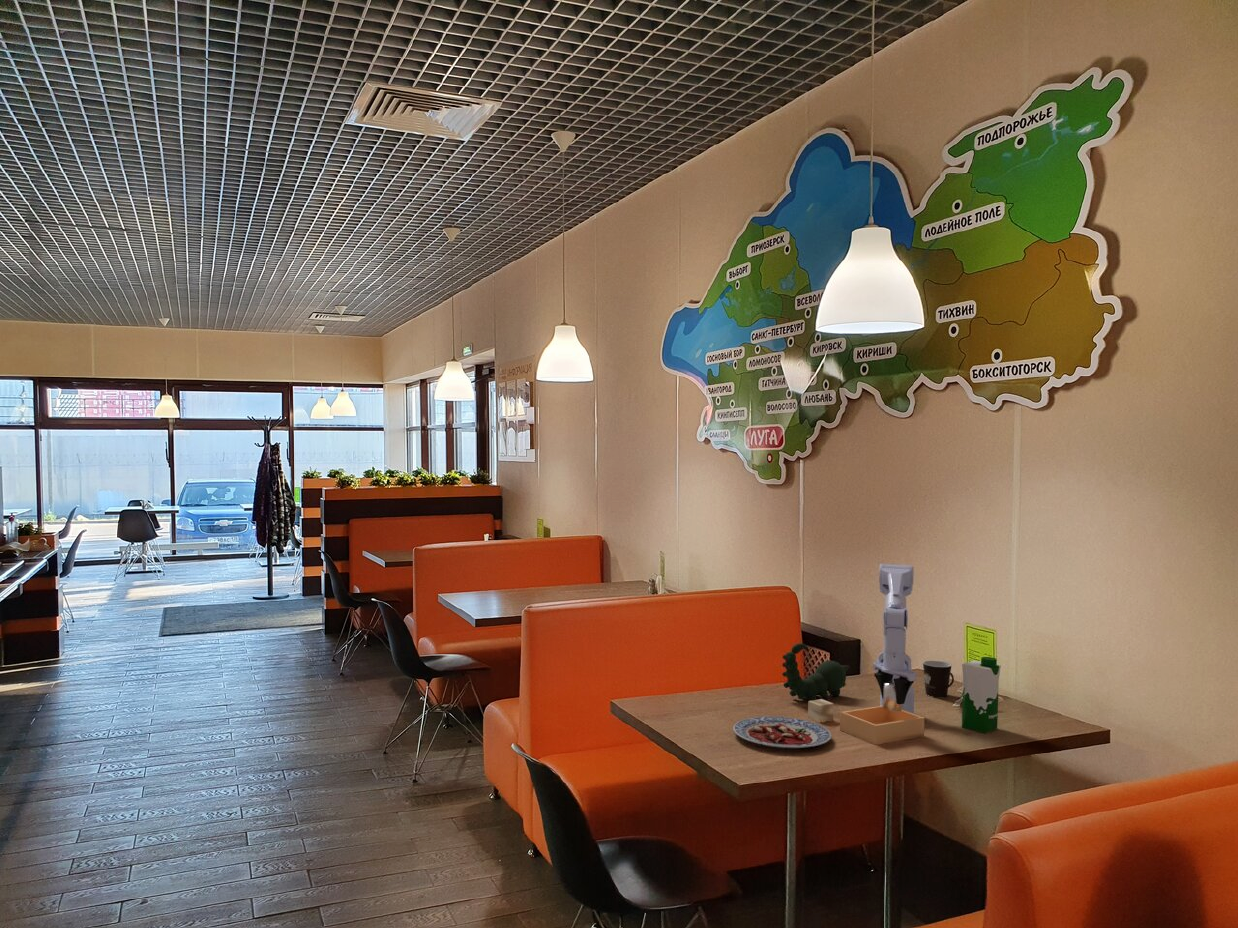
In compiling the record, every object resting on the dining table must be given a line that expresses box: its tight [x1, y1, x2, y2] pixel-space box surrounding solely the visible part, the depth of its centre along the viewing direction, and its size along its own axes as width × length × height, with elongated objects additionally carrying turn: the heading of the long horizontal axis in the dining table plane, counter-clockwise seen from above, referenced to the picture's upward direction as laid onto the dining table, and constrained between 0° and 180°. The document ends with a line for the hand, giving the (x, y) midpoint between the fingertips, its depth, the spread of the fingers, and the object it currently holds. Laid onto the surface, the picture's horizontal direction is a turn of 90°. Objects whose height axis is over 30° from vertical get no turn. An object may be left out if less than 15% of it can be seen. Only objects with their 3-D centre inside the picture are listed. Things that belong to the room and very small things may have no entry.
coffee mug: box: [922, 660, 955, 698], centre depth 287 cm, size 12×9×10 cm
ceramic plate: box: [732, 716, 832, 750], centre depth 242 cm, size 26×26×3 cm
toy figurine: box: [781, 642, 851, 701], centre depth 282 cm, size 9×19×25 cm
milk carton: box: [961, 656, 1001, 734], centre depth 254 cm, size 9×9×20 cm
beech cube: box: [807, 698, 834, 724], centre depth 260 cm, size 5×5×5 cm
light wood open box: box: [839, 705, 925, 746], centre depth 248 cm, size 18×14×5 cm
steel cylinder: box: [883, 681, 902, 711], centre depth 250 cm, size 5×5×7 cm
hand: (893, 701), depth 250 cm, fingers closed on steel cylinder, 5 cm apart
